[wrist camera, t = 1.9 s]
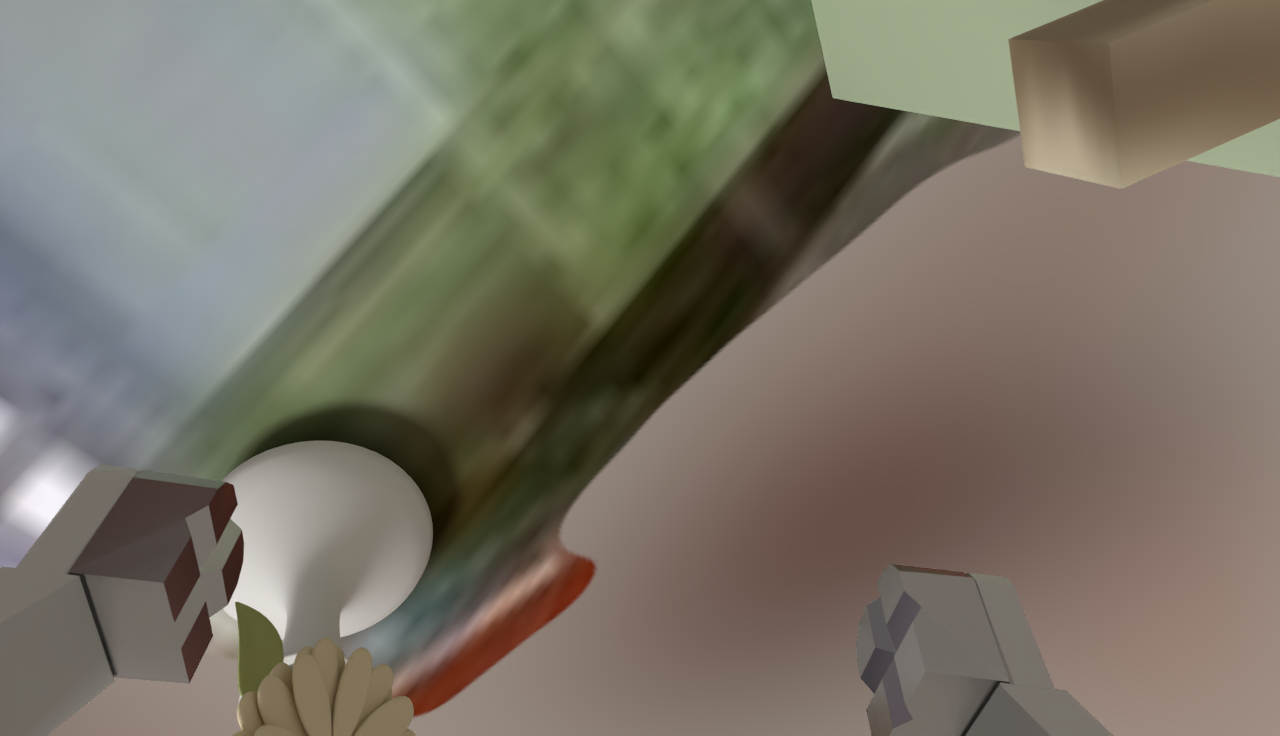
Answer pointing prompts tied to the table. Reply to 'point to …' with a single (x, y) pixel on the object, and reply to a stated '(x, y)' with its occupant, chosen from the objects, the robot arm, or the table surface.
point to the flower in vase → (322, 586)
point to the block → (1144, 84)
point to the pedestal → (964, 63)
